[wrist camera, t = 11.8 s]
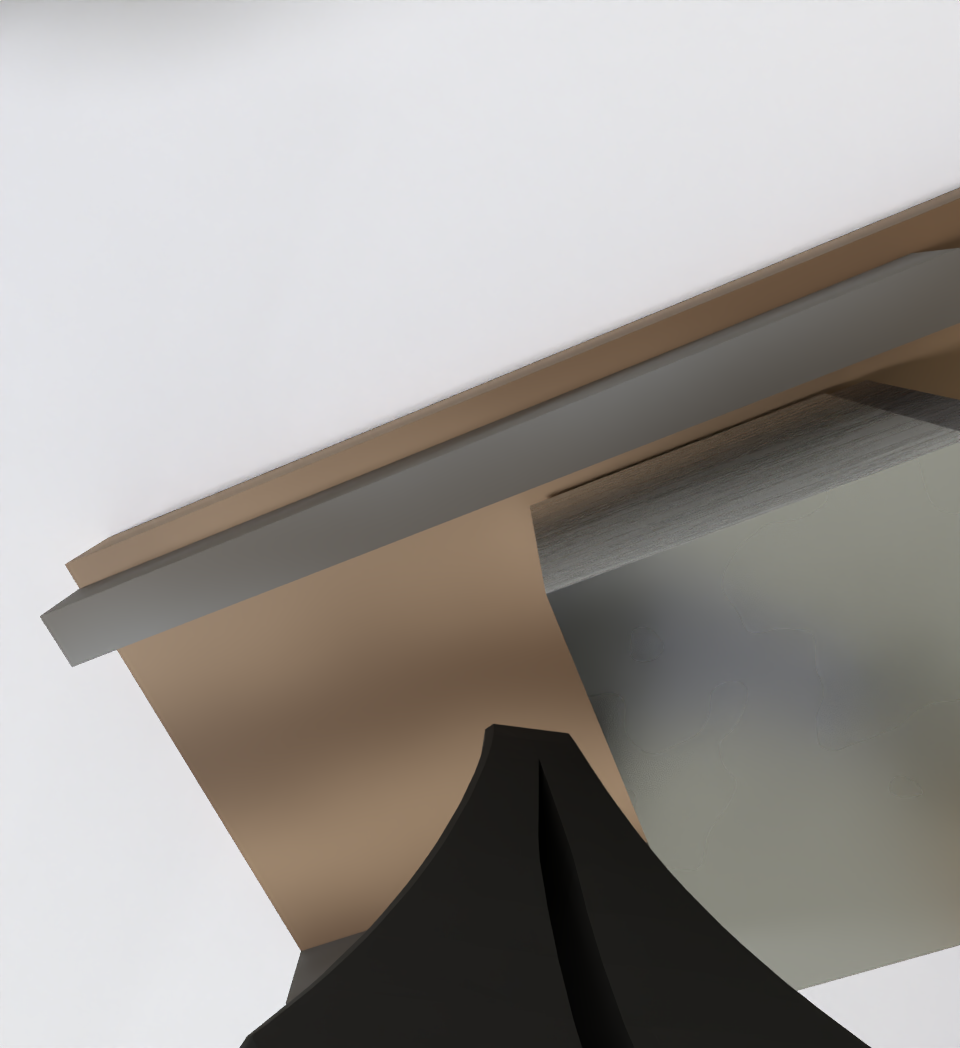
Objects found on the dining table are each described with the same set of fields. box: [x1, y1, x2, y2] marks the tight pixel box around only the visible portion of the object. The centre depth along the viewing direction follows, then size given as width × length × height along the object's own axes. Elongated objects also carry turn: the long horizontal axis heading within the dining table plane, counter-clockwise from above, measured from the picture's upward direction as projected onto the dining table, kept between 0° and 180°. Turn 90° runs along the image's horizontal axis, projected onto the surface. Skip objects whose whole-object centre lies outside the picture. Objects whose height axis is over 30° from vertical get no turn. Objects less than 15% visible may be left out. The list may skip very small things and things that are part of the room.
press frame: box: [40, 188, 960, 1004], centre depth 11 cm, size 11×24×8 cm, turn 112°
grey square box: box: [530, 380, 960, 991], centre depth 11 cm, size 7×6×4 cm
